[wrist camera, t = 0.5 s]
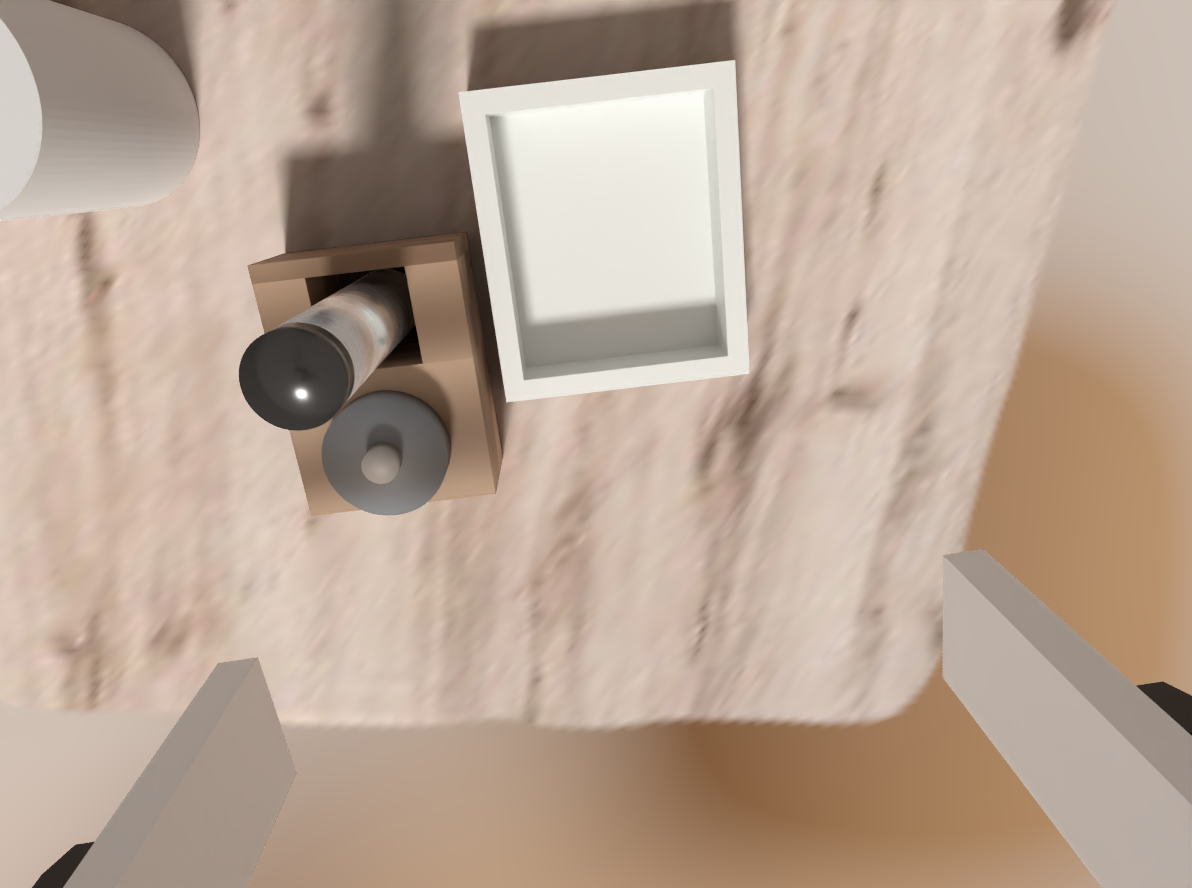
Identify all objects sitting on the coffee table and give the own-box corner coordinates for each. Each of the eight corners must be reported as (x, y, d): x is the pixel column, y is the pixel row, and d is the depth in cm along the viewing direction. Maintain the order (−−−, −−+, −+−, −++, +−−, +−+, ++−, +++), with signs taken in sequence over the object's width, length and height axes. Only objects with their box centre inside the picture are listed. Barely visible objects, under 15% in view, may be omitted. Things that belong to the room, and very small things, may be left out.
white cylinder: (-22, 62, 36) (-291, 15, 24) (136, -14, 35) (-66, -98, 24) (84, 234, 38) (-114, 263, 27) (232, 167, 38) (92, 169, 26)
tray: (466, 98, 37) (458, 92, 34) (720, 68, 37) (735, 59, 34) (510, 385, 42) (506, 402, 39) (735, 358, 42) (749, 373, 39)
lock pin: (347, 273, 39) (226, 336, 25) (415, 265, 39) (333, 323, 25) (361, 339, 41) (254, 436, 26) (427, 332, 41) (355, 424, 26)
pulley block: (285, 253, 39) (223, 273, 32) (466, 231, 39) (445, 247, 32) (338, 477, 43) (294, 539, 36) (502, 457, 43) (491, 516, 36)
